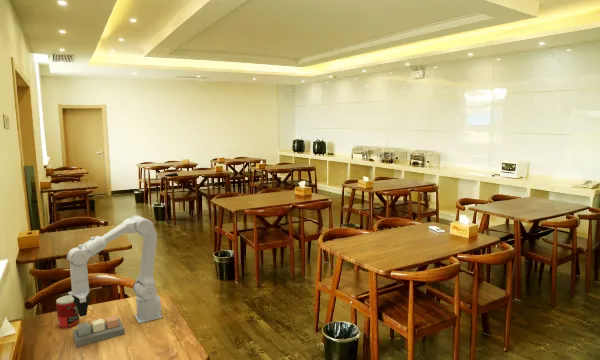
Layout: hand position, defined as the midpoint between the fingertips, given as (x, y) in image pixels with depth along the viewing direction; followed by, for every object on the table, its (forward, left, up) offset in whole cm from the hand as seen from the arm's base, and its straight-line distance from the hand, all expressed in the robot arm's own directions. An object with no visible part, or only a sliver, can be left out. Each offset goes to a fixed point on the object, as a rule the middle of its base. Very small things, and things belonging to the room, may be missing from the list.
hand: (82, 313), depth 157 cm
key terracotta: (-10, 0, -8) cm, 13 cm away
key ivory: (-5, 0, -8) cm, 9 cm away
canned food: (+4, -17, -11) cm, 20 cm away
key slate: (0, 0, -8) cm, 8 cm away
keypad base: (-5, 0, -10) cm, 12 cm away
